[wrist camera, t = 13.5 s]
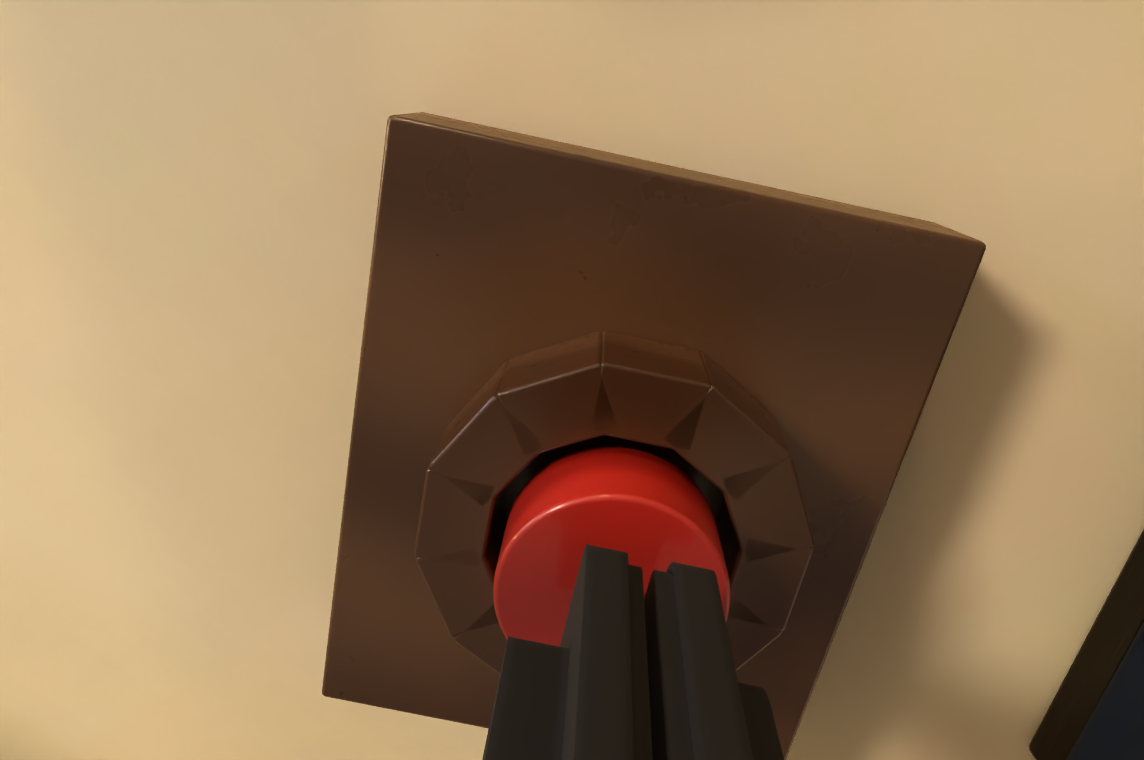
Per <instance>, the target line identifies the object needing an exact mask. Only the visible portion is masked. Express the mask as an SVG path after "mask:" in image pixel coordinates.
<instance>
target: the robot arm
mask: <svg viewBox="0 0 1144 760" xmlns="http://www.w3.org/2000/svg"><path fill="white" fill-rule="evenodd" d="M483 760H784V757H783V753H782V749H781V745H780V741H779V737H778V733H777V729H776V725H775V721H774V716H773V712H772V708H771V704H770V701H769V698H768V696H767V693H766V691H765V690H764V689H763V688H762V687H759V686H754V685H749V684H744V683H739V682H738V680H737V675H736V671H735V666H734V661H733V656H732V651H731V646H730V641H729V636H728V631H727V626H726V621H725V616H724V611H723V606H722V601H721V596H720V591H719V586H718V581H717V576H716V574H715V571H713V570H710V569H705V568H700V567H695V566H690V565H686V564H681V563H676V562H671V563H670V565H669V566H668V568H667V571H666V572H663V571H658V570H653V572H652V574H651V576H650V579H649V583H648V586H647V590H646V593H645V597H644V587H643V571H642V568H641V567H638V566H633V565H629V560H628V553H627V552H622V551H617V550H612V549H607V548H602V547H597V546H592V545H587V544H586V546H585V548H584V551H583V555H582V558H581V562H580V567H579V571H578V575H577V579H576V583H575V587H574V591H573V595H572V599H571V603H570V607H569V611H568V616H567V620H566V624H565V628H564V632H563V636H562V640H561V644H560V647H559V646H554V645H549V644H544V643H539V642H534V641H529V640H524V639H519V638H514V637H509V636H508V640H507V644H506V649H505V653H504V658H503V663H502V667H501V672H500V677H499V681H498V686H497V691H496V696H495V700H494V705H493V710H492V715H491V720H490V725H489V730H488V735H487V740H486V745H485V750H484V755H483Z"/></svg>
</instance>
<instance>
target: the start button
mask: <svg viewBox="0 0 1144 760" xmlns="http://www.w3.org/2000/svg"><path fill="white" fill-rule="evenodd" d="M586 544H587V545H592V546H597V547H602V548H607V549H612V550H617V551H622V552H627V553H628V560H629V565H633V566H638V567H641V568H642V571H643V587H644V597H645V593H646V590H647V586H648V583H649V579H650V576H651V574H652V572H653V570H658V571H663V572H666V571H667V568H668V566H669V565H670V563H671V562H676V563H681V564H686V565H690V566H695V567H700V568H705V569H710V570H713V571H715V574H716V576H717V581H718V586H719V591H720V596H721V601H722V606H723V611H724V616H725V621H726V622H727V618H728V614H729V610H730V600H731V589H730V580H729V576H728V571H727V567H726V563H725V559H724V555H723V551H722V546H721V542H720V538H719V534H718V530H717V526H716V522H715V518H714V515H713V512H712V509H711V507H710V504H709V503H708V501H707V499H706V497H705V496H704V494H703V492H702V491H701V490H700V489H699V487H698V486H697V485H696V483H695V482H694V481H693V480H692V479H691V478H690V477H689V476H688V475H687V474H685V473H684V472H683V471H681V470H680V469H679V468H677V467H676V466H675V465H673V464H671V463H670V462H668V461H666V460H664V459H662V458H660V457H658V456H655V455H653V454H650V453H647V452H644V451H640V450H636V449H631V448H624V447H597V448H590V449H585V450H581V451H577V452H574V453H571V454H568V455H566V456H563V457H561V458H559V459H557V460H555V461H553V462H551V463H550V464H548V465H547V466H545V467H544V468H542V469H541V470H540V471H539V472H538V473H536V474H535V475H534V476H533V477H532V478H531V479H530V480H529V481H528V482H527V483H526V485H525V486H524V487H523V488H522V490H521V491H520V493H519V494H518V496H517V497H516V499H515V501H514V504H513V506H512V508H511V510H510V514H509V517H508V521H507V525H506V529H505V533H504V537H503V541H502V545H501V550H500V554H499V558H498V562H497V566H496V570H495V574H494V582H493V602H494V607H495V613H496V616H497V619H498V622H499V625H500V627H501V629H502V631H503V633H504V635H505V637H506V639H507V640H508V636H509V637H514V638H519V639H524V640H529V641H534V642H539V643H544V644H549V645H554V646H559V647H560V644H561V640H562V636H563V632H564V628H565V624H566V620H567V616H568V611H569V607H570V603H571V599H572V595H573V591H574V587H575V583H576V579H577V575H578V571H579V567H580V562H581V558H582V555H583V551H584V548H585V546H586Z"/></svg>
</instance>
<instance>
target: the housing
mask: <svg viewBox="0 0 1144 760" xmlns="http://www.w3.org/2000/svg"><path fill="white" fill-rule="evenodd" d="M985 249H986V245H985V244H984V243H983V242H982V241H979V240H977V239H974V238H971V237H969V236H966V235H964V234H961V233H959V232H956V231H954V230H951V229H949V228H946V227H944V226H941V225H939V224H936V223H933V222H929V221H924V220H919V219H915V218H910V217H905V216H901V215H896V214H891V213H887V212H882V211H878V210H873V209H868V208H864V207H859V206H854V205H850V204H845V203H840V202H836V201H831V200H827V199H822V198H817V197H813V196H808V195H803V194H799V193H794V192H789V191H785V190H780V189H776V188H771V187H766V186H762V185H757V184H752V183H748V182H743V181H738V180H734V179H729V178H724V177H720V176H715V175H711V174H706V173H701V172H697V171H692V170H687V169H683V168H678V167H673V166H669V165H664V164H660V163H655V162H650V161H646V160H641V159H636V158H632V157H627V156H622V155H618V154H613V153H608V152H604V151H599V150H595V149H590V148H585V147H581V146H576V145H571V144H567V143H562V142H557V141H553V140H548V139H544V138H539V137H534V136H530V135H525V134H520V133H516V132H511V131H506V130H502V129H497V128H493V127H488V126H483V125H479V124H474V123H469V122H465V121H460V120H455V119H451V118H446V117H441V116H437V115H432V114H428V113H423V112H421V113H411V114H401V115H393V116H390V117H389V118H388V120H387V129H386V137H385V146H384V155H383V164H382V172H381V181H380V190H379V198H378V207H377V216H376V225H375V233H374V242H373V251H372V260H371V268H370V277H369V286H368V294H367V303H366V312H365V321H364V329H363V338H362V347H361V356H360V364H359V373H358V382H357V390H356V399H355V408H354V417H353V425H352V434H351V443H350V452H349V460H348V469H347V478H346V486H345V495H344V504H343V513H342V521H341V530H340V539H339V548H338V556H337V565H336V574H335V582H334V591H333V600H332V609H331V617H330V626H329V635H328V644H327V652H326V661H325V670H324V678H323V687H322V694H323V695H324V696H326V697H331V698H336V699H341V700H346V701H352V702H357V703H362V704H367V705H372V706H377V707H382V708H387V709H392V710H398V711H403V712H408V713H413V714H418V715H423V716H428V717H433V718H438V719H444V720H449V721H454V722H459V723H464V724H469V725H474V726H479V727H484V728H489V725H490V720H491V715H492V710H493V705H494V700H495V696H496V691H497V686H498V681H499V677H500V672H501V667H502V663H503V658H504V653H505V649H506V644H507V639H506V637H505V635H504V633H503V631H502V629H501V627H500V625H499V622H498V619H497V616H496V613H495V607H494V602H493V582H494V574H495V570H496V566H497V562H498V558H499V554H500V550H501V545H502V541H503V537H504V533H505V529H506V525H507V521H508V517H509V514H510V510H511V508H512V506H513V504H514V501H515V499H516V497H517V496H518V494H519V493H520V491H521V490H522V488H523V487H524V486H525V485H526V483H527V482H528V481H529V480H530V479H531V478H532V477H533V476H534V475H535V474H536V473H538V472H539V471H540V470H541V469H542V468H544V467H545V466H547V465H548V464H550V463H551V462H553V461H555V460H557V459H559V458H561V457H563V456H566V455H568V454H571V453H574V452H577V451H581V450H585V449H590V448H597V447H624V448H631V449H636V450H640V451H644V452H647V453H650V454H653V455H655V456H658V457H660V458H662V459H664V460H666V461H668V462H670V463H671V464H673V465H675V466H676V467H677V468H679V469H680V470H681V471H683V472H684V473H685V474H687V475H688V476H689V477H690V478H691V479H692V480H693V481H694V482H695V483H696V485H697V486H698V487H699V489H700V490H701V491H702V492H703V494H704V496H705V497H706V499H707V501H708V503H709V504H710V507H711V509H712V512H713V515H714V518H715V522H716V526H717V530H718V534H719V538H720V542H721V546H722V551H723V555H724V559H725V563H726V567H727V571H728V576H729V580H730V589H731V600H730V610H729V614H728V618H727V622H726V626H727V631H728V636H729V641H730V646H731V651H732V656H733V661H734V666H735V671H736V675H737V680H738V682H739V683H744V684H749V685H754V686H759V687H762V688H763V689H764V690H765V691H766V693H767V696H768V698H769V701H770V704H771V708H772V712H773V716H774V721H775V725H776V729H777V733H778V737H779V741H780V745H781V749H782V753H783V757H784V760H786V758H787V755H788V752H789V750H790V747H791V745H792V742H793V740H794V737H795V735H796V732H797V729H798V727H799V724H800V722H801V719H802V717H803V714H804V712H805V709H806V706H807V704H808V701H809V699H810V696H811V694H812V691H813V689H814V686H815V683H816V681H817V678H818V676H819V673H820V671H821V668H822V666H823V663H824V660H825V658H826V655H827V653H828V650H829V648H830V645H831V643H832V640H833V637H834V635H835V632H836V630H837V627H838V625H839V622H840V620H841V617H842V614H843V612H844V609H845V607H846V604H847V602H848V599H849V597H850V594H851V591H852V589H853V586H854V584H855V581H856V579H857V576H858V574H859V571H860V568H861V566H862V563H863V561H864V558H865V556H866V553H867V551H868V548H869V545H870V543H871V540H872V538H873V535H874V533H875V530H876V528H877V525H878V523H879V520H880V517H881V515H882V512H883V510H884V507H885V505H886V502H887V500H888V497H889V494H890V492H891V489H892V487H893V484H894V482H895V479H896V477H897V474H898V471H899V469H900V466H901V464H902V461H903V459H904V456H905V454H906V451H907V448H908V446H909V443H910V441H911V438H912V436H913V433H914V431H915V428H916V425H917V423H918V420H919V418H920V415H921V413H922V410H923V408H924V405H925V402H926V400H927V397H928V395H929V392H930V390H931V387H932V385H933V382H934V379H935V377H936V374H937V372H938V369H939V367H940V364H941V362H942V359H943V356H944V354H945V351H946V349H947V346H948V344H949V341H950V339H951V336H952V333H953V331H954V328H955V326H956V323H957V321H958V318H959V316H960V313H961V310H962V308H963V305H964V303H965V300H966V298H967V295H968V293H969V290H970V287H971V285H972V282H973V280H974V277H975V275H976V272H977V270H978V267H979V264H980V262H981V259H982V257H983V254H984V252H985Z"/></svg>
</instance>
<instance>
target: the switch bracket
mask: <svg viewBox="0 0 1144 760" xmlns="http://www.w3.org/2000/svg"><path fill="white" fill-rule="evenodd" d="M1029 749H1030V751H1031V753H1032V754H1033V756H1034V757H1035V759H1036V760H1144V530H1143V532H1142V534H1141V536H1140V538H1139V539H1138V541H1137V543H1136V545H1135V547H1134V549H1133V551H1132V553H1131V555H1130V556H1129V558H1128V560H1127V562H1126V564H1125V566H1124V568H1123V570H1122V572H1121V573H1120V575H1119V577H1118V579H1117V581H1116V583H1115V585H1114V587H1113V589H1112V590H1111V592H1110V594H1109V596H1108V598H1107V600H1106V602H1105V604H1104V605H1103V607H1102V609H1101V611H1100V613H1099V615H1098V617H1097V619H1096V621H1095V622H1094V624H1093V626H1092V628H1091V630H1090V632H1089V634H1088V636H1087V638H1086V639H1085V641H1084V643H1083V645H1082V647H1081V649H1080V651H1079V653H1078V655H1077V656H1076V658H1075V660H1074V662H1073V664H1072V666H1071V668H1070V670H1069V672H1068V673H1067V675H1066V677H1065V679H1064V681H1063V683H1062V685H1061V687H1060V688H1059V690H1058V692H1057V694H1056V696H1055V698H1054V700H1053V702H1052V704H1051V705H1050V707H1049V709H1048V711H1047V713H1046V715H1045V717H1044V719H1043V721H1042V722H1041V724H1040V726H1039V728H1038V730H1037V732H1036V734H1035V736H1034V738H1033V739H1032V741H1031V743H1030V745H1029Z"/></svg>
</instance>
